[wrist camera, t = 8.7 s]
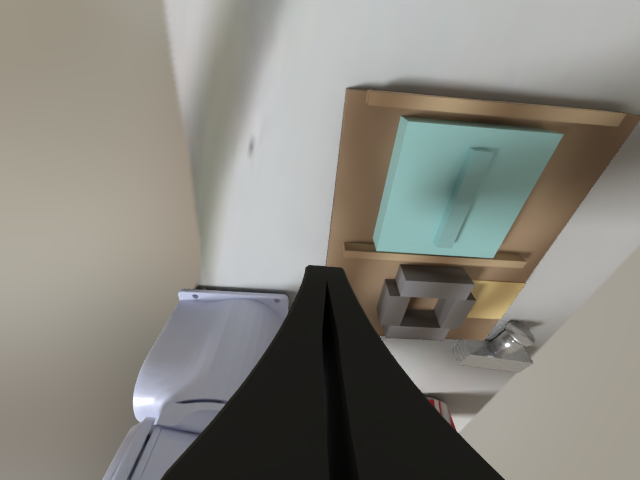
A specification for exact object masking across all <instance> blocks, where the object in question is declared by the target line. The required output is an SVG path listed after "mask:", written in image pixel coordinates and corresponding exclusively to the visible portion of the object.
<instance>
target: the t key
mask: <svg viewBox="0 0 640 480" xmlns="http://www.w3.org/2000/svg"><path fill="white" fill-rule="evenodd" d="M534 342H535V339H534V336H533V334H532V333H531V332H530V331H529V330H528V329H527V328H526V327H525V326H524V325H522V324H520V323H518V322H515V321H511V322H509V323H508V324H507V325H506V326H505V331H504V332H503V333H501V334H500V335H499V336H498V337H497V338H495V339H494V340H493V341H492V342H491V341H481V340H460V341H459V342H458V344H457V345H456V346H455V347H454V348H453V352H454V354H455V357H456V359H457V362H458V365H465V366H473V367H481V368H488V369H496V370H504V371H511V372H520V371H522V370H523V369H525V368H527V367H528V366H530V365H531V364H533V362H532V360H531V358H530V356H529V355H528V353H527V351H526V350H525V348H524V347H530V346H531V345H533V344H534Z"/></svg>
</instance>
